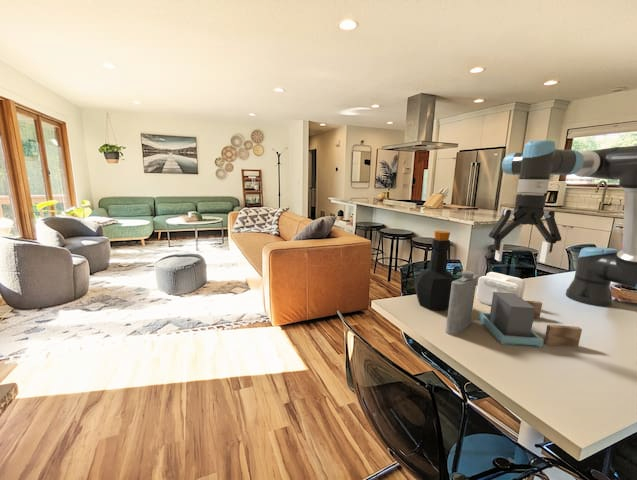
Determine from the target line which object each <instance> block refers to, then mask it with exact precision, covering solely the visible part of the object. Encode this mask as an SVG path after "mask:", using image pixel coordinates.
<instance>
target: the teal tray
mask: <svg viewBox="0 0 637 480" xmlns="http://www.w3.org/2000/svg"><path fill="white" fill-rule="evenodd" d="M489 317H490V312H478V318H477V319H478V320H479V322H480V323H481V324H482V325H483V326H484V327H485V328H486V329H487V331H488V332H489V333H490V334H491V335H492V336H493V337H494V338H495V339H496V341H498V343H499V345H506V346H508V345H509V346H519V347H520V346H521V347H534V348H535V347H536V348H543V345H544V339H543V338H542V337H541V336H539V334H537V333H536V332H535V331H534V330H533V329H531V334H530V337H519V336H506V335H503V334H502V333H501V332H500V331H499V330H498V329H497V328H496V327H495V326H494V325H493V324H492V323H491V321H490V320H489Z"/></svg>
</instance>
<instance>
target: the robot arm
mask: <svg viewBox="0 0 637 480" xmlns="http://www.w3.org/2000/svg"><path fill="white" fill-rule="evenodd" d="M501 163H502V165H501V168H502V171H503V173H504V174H506V175H511V176H512V175H513V176H518V175H519V178H518V183H517V184H518V185H517V189H516V192H517V193H518V194H517V195H515V203H514V209H513V210H512V209H508V208H504V209H503V210H502V213H501V216H500V218H499V219H498V221H497V222H496V224H495V225H494V226H493V228H492V230H491V231H490V232H489V234H488V237H489V238H490V239H493V240H494V242H493V250H495V255H494V260H496V261H498V262H502V258H503V257H502V256H503V250H504V244H505V241H504V240H503V239H504V238H506V237H507V236H508V234H510V233H511V232H513V230H514V229H516V227H518V226H520V225H530V226H535V227H536V229H537V230H538V231H539V233H540V235H541V236H542V237H543V239H544V240H543V241H542V244H541V250H540V255H539V261H538V262H540V263H543V264H548V261H549V254H550V253H552V252H553V248H554V244H556V243H557V242H562V236H561V233H560V230H559V227H558V225H557V224H558V223H557V222H556V217H555V215H556V214H555V213H556V212H555V210H549V209H546V210H544V209H545V206H546V202H547V196H546V195H545V194H547V193H548V187H549V183H550V176H559V175H560V176H570V175H575V176H577V177H579V178H580V177H581V178H582V177H583V178H584V177H585V178H594V179H601V180H613V181H614V180H619V181H618V187H619V188H621V189H622V190H623V191H624V200H623V201H624V202H623V223H622V224H623V226H622V227H623V230H622V231H623V232H622V249H621V250H619V249H616V248H609V247H598V246H597V247H595V246H591V247H590V246H589V247H582V248H581V249H580V251H579V254H578V256H577V258H578V259H577V262H576V263H577V264H576V269H575V274H574V277H573V278H574V279H572V281H571V283H570V284H569V286H568V287H567V289H566V290H565V295H566V297H568V298H569V299H571V300H574V301H576V302H579V303H583V304H587V305H593V306H597V307H599V306H600V307H609V306H612V304H613V297H612V292H611V290H612V289H611V282H612V283H614V284H618V285H622V286H626V287H630V288H634V289H635V290H637V145H629V146H628V145H627V146H615V147H614V146H613V147H608V148H601V149H594V150H584V151H581V152H580V151H579V150H574V149H557V148H556V142H555V141H554V140H550V139H548V140H547V139H544V140H539V139H538V140H531V141H527V142H526V143H525V145H524V148H523V152H513V153H512V152H511V153H508V154H507V155H506V156H505V157H504V158H503V160H502V162H501ZM512 216H513V218H512V219H511V220H510V221H509V219H510V217H512ZM543 217H544V218H545V222H546V225H547V227H548V229H547V227H546V226H545V223H544V221H543V220H542V218H543ZM508 221H509V223H508V224H507V222H508Z"/></svg>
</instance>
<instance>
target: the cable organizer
mask: <svg viewBox="0 0 637 480" xmlns="http://www.w3.org/2000/svg"><path fill="white" fill-rule="evenodd" d="M477 279H478V281H477V285H476V291H475V298H476V300H477V301H478V302H480V303H481V304H483V303H484V304H483V305H487V306H491V305H492V298H493V292H500V293H515V294H516V295H518V296H519V297H521V298H522V299H523V300H524V298H523V297H524V294H525V293H524V292H525V288H526V282H525V280H524V279H522V278H520V277H516V276H512V275H507V274H504V273H499V272H496V271H495V272H494V271H490V272H487V273H486V275H482V276H479V278H477Z"/></svg>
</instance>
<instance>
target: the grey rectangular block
mask: <svg viewBox="0 0 637 480" xmlns="http://www.w3.org/2000/svg"><path fill="white" fill-rule="evenodd" d="M526 301H527V300H525V299H524V298H523V299H522V298H521V297H519V296H518V295H516V294H515V293H500V292H493V298H492V305H490V312H489V313H490V317H489V320H490V321H491V323H492V324H493V325H494V326H495V327H496V328H497V329H498V330H499V331H500V332H501V333H502V334H503V335H506V336H519V337H530V334H531V330H533V329H532V327H533V324H534V323H533V322H534V319H535V318H534V313H535V307H533V306H532V305H530V304H529V303H528V302H526Z"/></svg>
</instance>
